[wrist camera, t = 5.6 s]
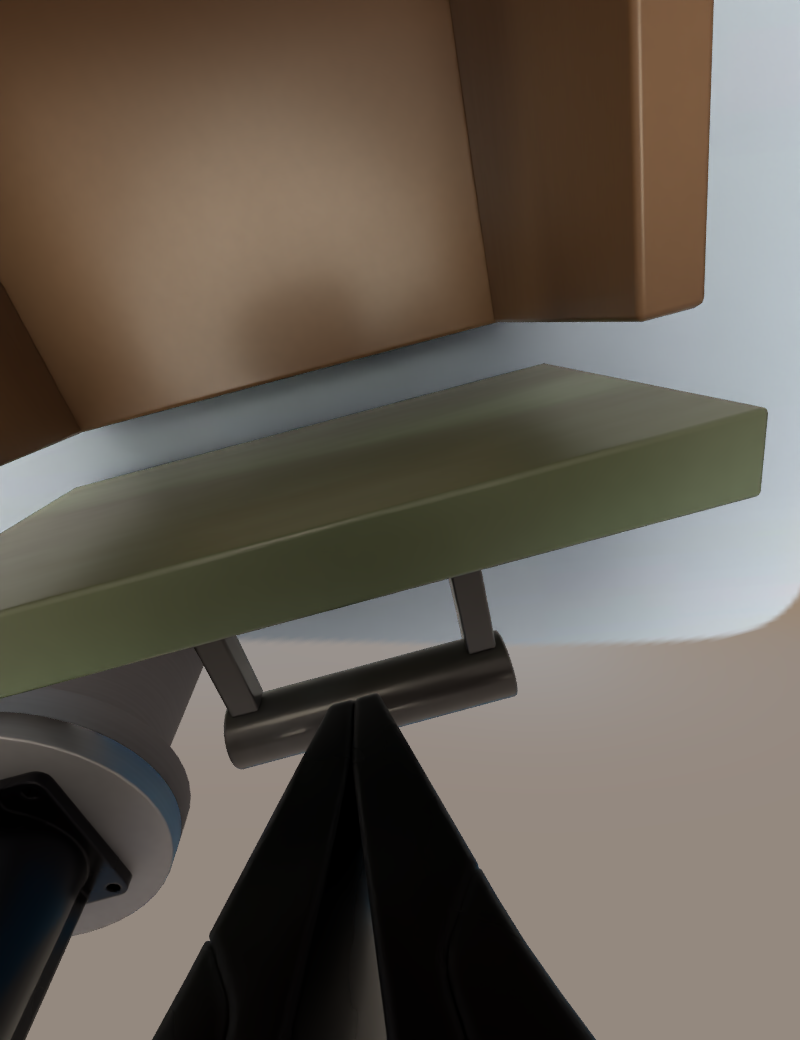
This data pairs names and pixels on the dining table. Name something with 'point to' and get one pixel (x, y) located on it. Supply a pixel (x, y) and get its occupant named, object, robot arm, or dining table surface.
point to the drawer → (340, 317)
